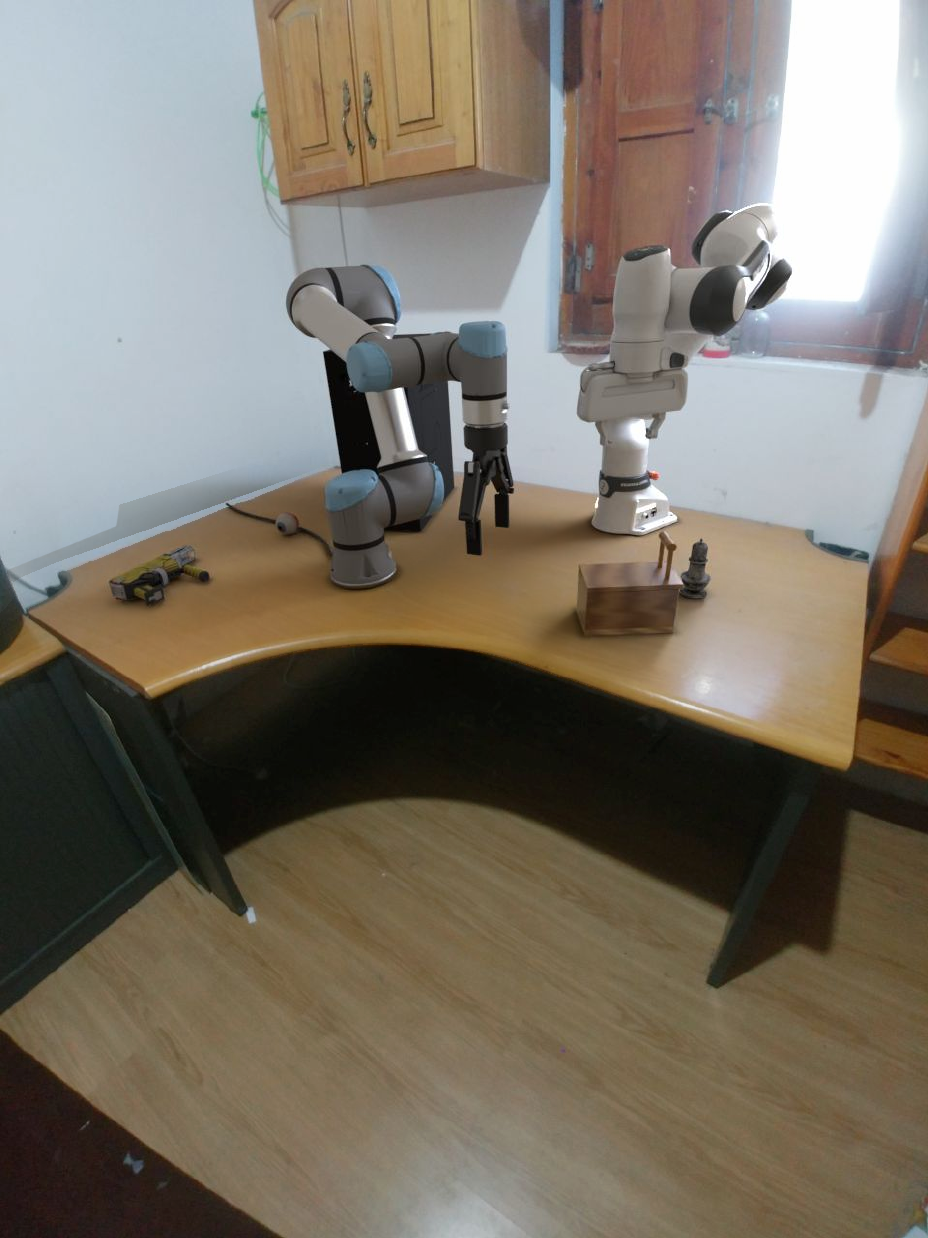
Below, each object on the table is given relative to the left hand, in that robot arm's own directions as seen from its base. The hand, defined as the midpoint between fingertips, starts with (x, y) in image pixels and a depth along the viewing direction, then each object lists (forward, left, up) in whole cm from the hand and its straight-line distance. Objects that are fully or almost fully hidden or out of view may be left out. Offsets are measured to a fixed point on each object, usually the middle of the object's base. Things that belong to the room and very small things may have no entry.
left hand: (489, 540), depth 113 cm
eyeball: (-70, +22, -16) cm, 75 cm away
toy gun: (-76, -12, -16) cm, 78 cm away
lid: (+25, +7, -7) cm, 27 cm away
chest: (+25, +7, -16) cm, 30 cm away
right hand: (+21, +16, +16) cm, 31 cm away
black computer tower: (-50, +51, -16) cm, 73 cm away
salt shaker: (+35, +23, -16) cm, 45 cm away
